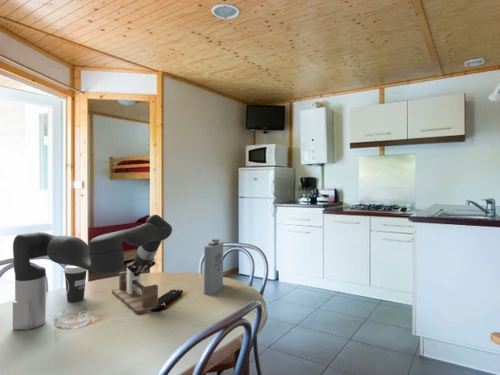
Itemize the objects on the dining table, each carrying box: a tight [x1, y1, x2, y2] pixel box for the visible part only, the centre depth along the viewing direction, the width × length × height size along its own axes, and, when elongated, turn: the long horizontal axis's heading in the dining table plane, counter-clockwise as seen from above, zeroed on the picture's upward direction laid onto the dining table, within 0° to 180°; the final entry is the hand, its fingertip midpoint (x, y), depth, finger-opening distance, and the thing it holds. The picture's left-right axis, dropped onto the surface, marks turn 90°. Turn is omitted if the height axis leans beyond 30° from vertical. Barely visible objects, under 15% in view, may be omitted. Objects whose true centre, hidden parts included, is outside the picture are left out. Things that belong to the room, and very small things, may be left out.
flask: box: [203, 238, 224, 296], centre depth 160 cm, size 17×5×25 cm, turn 164°
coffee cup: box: [63, 265, 88, 303], centre depth 144 cm, size 10×10×15 cm
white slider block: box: [126, 267, 141, 294], centre depth 148 cm, size 4×5×11 cm
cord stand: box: [111, 270, 166, 315], centre depth 144 cm, size 32×12×10 cm, turn 39°
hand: (136, 274), depth 146 cm, fingers closed
